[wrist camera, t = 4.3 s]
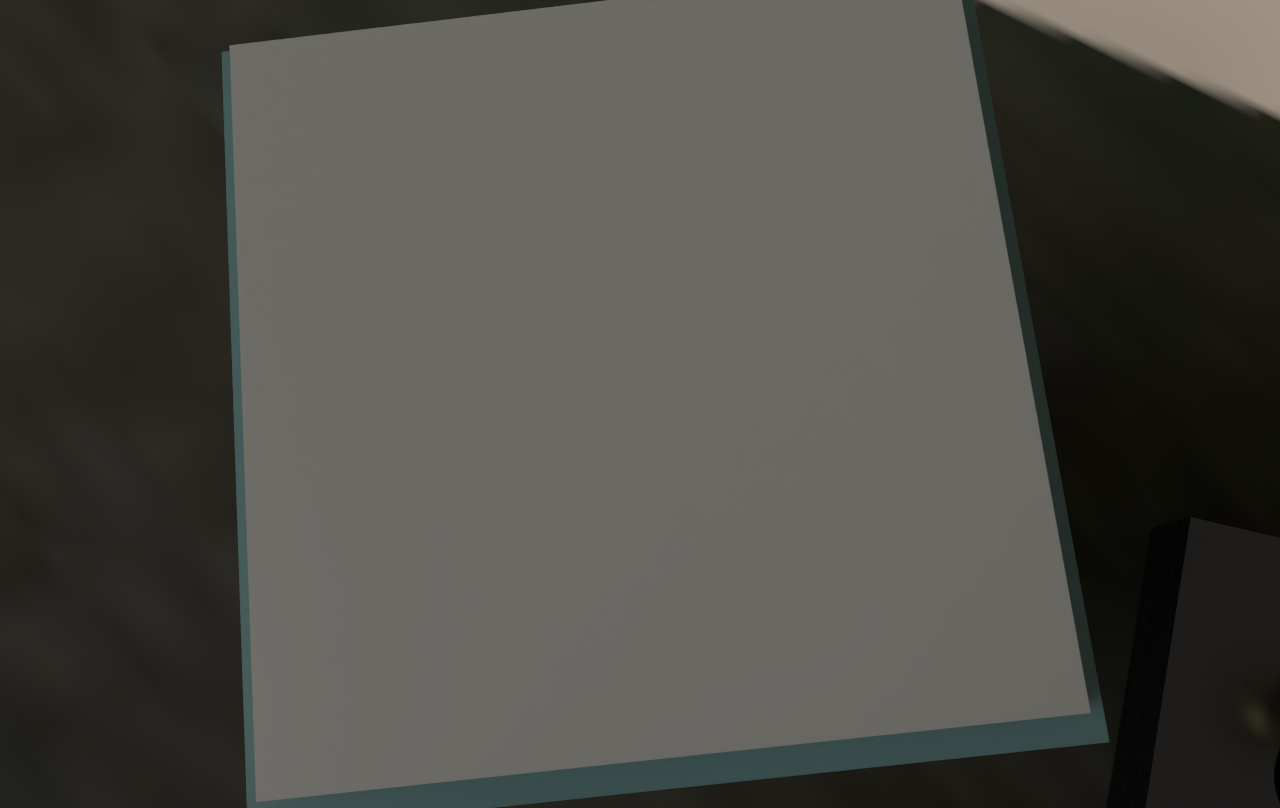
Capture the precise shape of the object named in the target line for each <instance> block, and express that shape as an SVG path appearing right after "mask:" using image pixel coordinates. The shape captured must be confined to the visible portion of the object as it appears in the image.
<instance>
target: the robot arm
mask: <svg viewBox="0 0 1280 808" xmlns="http://www.w3.org/2000/svg"><path fill="white" fill-rule="evenodd" d="M1274 783H1275V789H1276V793H1277V797H1278V800H1279V803H1280V748H1279V752H1278V755H1277V759H1276V763H1275V768H1274Z"/></svg>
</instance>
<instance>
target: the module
mask: <svg viewBox="0 0 1280 808" xmlns="http://www.w3.org/2000/svg"><path fill="white" fill-rule="evenodd" d="M222 74H223V104H224V134H225V164H226V194H227V224H228V253H229V283H230V313H231V343H232V373H233V403H234V433H235V463H236V493H237V523H238V553H239V583H240V612H241V642H242V672H243V702H244V732H245V762H246V792H247V808H494V807H504V806H513V805H522V804H532V803H541V802H551V801H560V800H570V799H579V798H588V797H598V796H607V795H617V794H626V793H635V792H645V791H654V790H664V789H673V788H683V787H692V786H701V785H711V784H720V783H730V782H739V781H748V780H758V779H767V778H777V777H786V776H796V775H805V774H814V773H824V772H833V771H843V770H852V769H861V768H871V767H880V766H890V765H899V764H908V763H918V762H927V761H937V760H946V759H956V758H965V757H974V756H984V755H993V754H1003V753H1012V752H1021V751H1031V750H1040V749H1050V748H1059V747H1069V746H1078V745H1087V744H1097V743H1106V742H1109V737H1108V732H1107V726H1106V721H1105V715H1104V710H1103V704H1102V699H1101V694H1100V688H1099V683H1098V677H1097V672H1096V666H1095V661H1094V655H1093V650H1092V644H1091V639H1090V633H1089V628H1088V623H1087V617H1086V612H1085V606H1084V601H1083V595H1082V590H1081V584H1080V579H1079V573H1078V568H1077V563H1076V557H1075V552H1074V546H1073V541H1072V535H1071V530H1070V524H1069V519H1068V513H1067V508H1066V502H1065V497H1064V492H1063V486H1062V481H1061V475H1060V470H1059V464H1058V459H1057V453H1056V448H1055V442H1054V437H1053V432H1052V426H1051V421H1050V415H1049V410H1048V404H1047V399H1046V393H1045V388H1044V382H1043V377H1042V372H1041V366H1040V361H1039V355H1038V350H1037V344H1036V339H1035V333H1034V328H1033V322H1032V317H1031V311H1030V306H1029V301H1028V295H1027V290H1026V284H1025V279H1024V273H1023V268H1022V262H1021V257H1020V251H1019V246H1018V241H1017V235H1016V230H1015V224H1014V219H1013V213H1012V208H1011V202H1010V197H1009V191H1008V186H1007V181H1006V175H1005V170H1004V164H1003V159H1002V153H1001V148H1000V142H999V137H998V131H997V126H996V120H995V115H994V110H993V104H992V99H991V93H990V88H989V82H988V77H987V71H986V66H985V60H984V55H983V50H982V44H981V39H980V33H979V28H978V22H977V17H976V11H975V6H974V0H608V1H599V2H591V3H583V4H574V5H566V6H557V7H549V8H541V9H532V10H524V11H515V12H507V13H499V14H490V15H482V16H474V17H465V18H457V19H448V20H440V21H432V22H423V23H415V24H406V25H398V26H390V27H381V28H373V29H364V30H356V31H348V32H339V33H331V34H322V35H314V36H306V37H297V38H289V39H280V40H272V41H264V42H255V43H247V44H239V45H230V51H226V52H222Z"/></svg>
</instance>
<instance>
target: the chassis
mask: <svg viewBox="0 0 1280 808" xmlns="http://www.w3.org/2000/svg"><path fill="white" fill-rule="evenodd" d="M1279 748H1280V538H1279V537H1275V536H1270V535H1266V534H1262V533H1257V532H1253V531H1249V530H1245V529H1240V528H1236V527H1232V526H1227V525H1223V524H1219V523H1214V522H1210V521H1206V520H1202V519H1197V518H1193V517H1189V518H1186V519H1182V520H1179V521H1175V522H1172V523H1168V524H1165V525H1162V526H1158V527H1155V528H1152V532H1151V538H1150V544H1149V551H1148V557H1147V563H1146V569H1145V575H1144V581H1143V587H1142V594H1141V600H1140V606H1139V612H1138V618H1137V624H1136V631H1135V637H1134V643H1133V649H1132V655H1131V661H1130V668H1129V674H1128V680H1127V686H1126V692H1125V698H1124V704H1123V711H1122V717H1121V723H1120V729H1119V735H1118V741H1117V748H1116V754H1115V760H1114V766H1113V772H1112V778H1111V785H1110V791H1109V797H1108V803H1107V808H1280V803H1279V800H1278V797H1277V793H1276V789H1275V783H1274V768H1275V763H1276V759H1277V755H1278V752H1279Z"/></svg>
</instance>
